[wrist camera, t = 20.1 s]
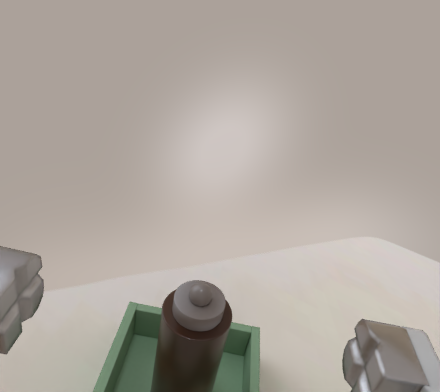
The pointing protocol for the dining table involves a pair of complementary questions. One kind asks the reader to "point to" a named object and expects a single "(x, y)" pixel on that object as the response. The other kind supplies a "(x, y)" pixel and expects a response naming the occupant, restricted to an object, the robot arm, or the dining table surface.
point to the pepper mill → (191, 338)
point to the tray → (146, 351)
